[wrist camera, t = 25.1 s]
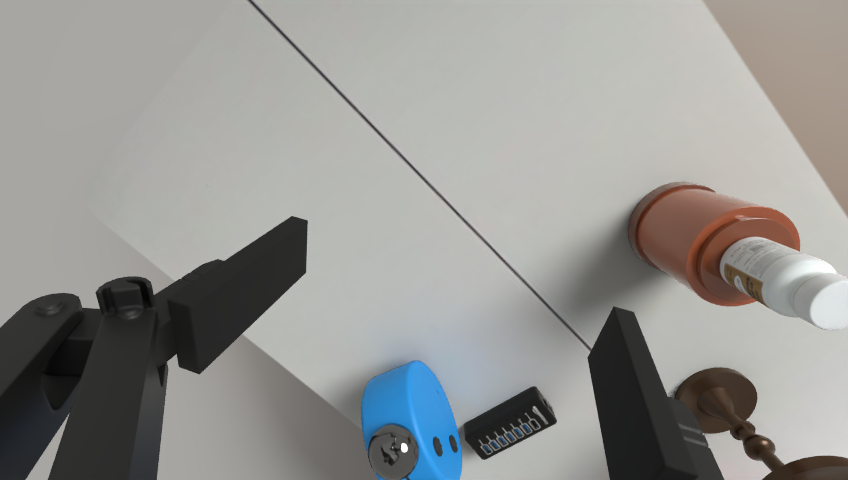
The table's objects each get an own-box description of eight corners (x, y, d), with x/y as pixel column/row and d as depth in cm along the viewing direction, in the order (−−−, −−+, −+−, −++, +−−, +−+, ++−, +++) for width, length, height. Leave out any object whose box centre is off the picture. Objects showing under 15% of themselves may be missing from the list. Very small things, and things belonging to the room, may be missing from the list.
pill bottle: (705, 271, 31) (785, 318, 24) (743, 226, 30) (840, 261, 23) (748, 295, 32) (839, 348, 24) (787, 251, 31) (896, 294, 23)
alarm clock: (372, 355, 48) (342, 456, 34) (416, 336, 47) (403, 433, 33) (420, 431, 51) (411, 552, 37) (462, 416, 50) (469, 535, 36)
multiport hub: (462, 424, 51) (463, 438, 48) (534, 385, 48) (539, 398, 46) (481, 446, 51) (483, 461, 49) (553, 409, 49) (558, 422, 47)
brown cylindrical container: (629, 187, 40) (691, 211, 30) (724, 176, 39) (821, 197, 29) (626, 270, 43) (682, 317, 33) (715, 261, 42) (800, 307, 32)
